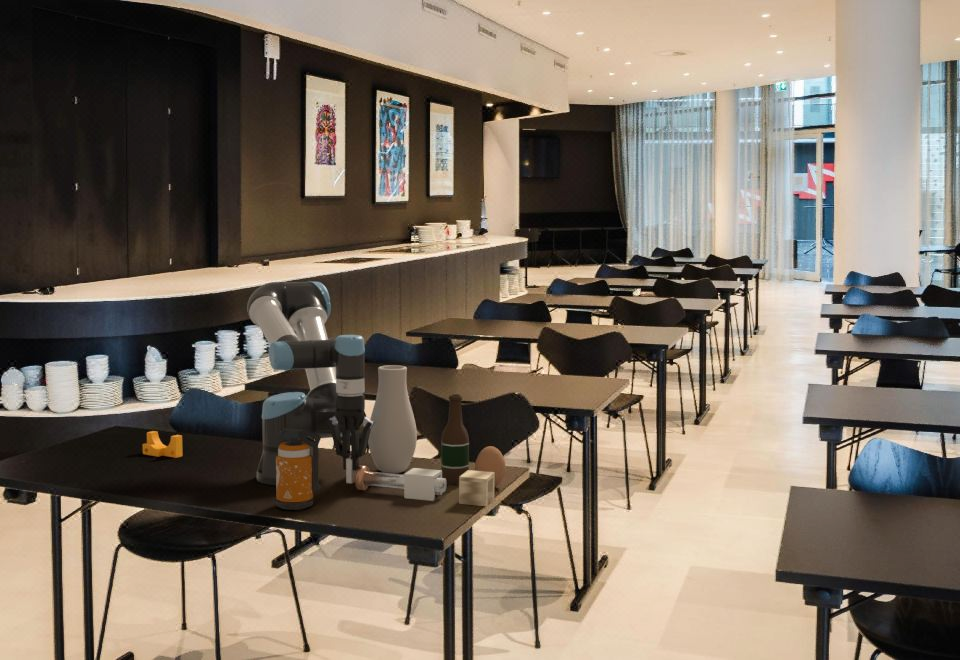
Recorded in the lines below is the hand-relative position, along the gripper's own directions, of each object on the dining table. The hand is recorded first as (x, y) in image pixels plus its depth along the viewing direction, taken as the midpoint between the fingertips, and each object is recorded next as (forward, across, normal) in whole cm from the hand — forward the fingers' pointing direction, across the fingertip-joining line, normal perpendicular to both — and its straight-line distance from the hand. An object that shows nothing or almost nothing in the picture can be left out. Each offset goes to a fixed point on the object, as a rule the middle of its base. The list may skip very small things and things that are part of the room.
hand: (351, 481), depth 275 cm
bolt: (+2, +14, +1) cm, 14 cm away
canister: (+3, -6, -19) cm, 20 cm away
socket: (+2, +34, +1) cm, 34 cm away
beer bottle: (+2, +23, +18) cm, 29 cm away
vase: (+2, +3, +21) cm, 22 cm away
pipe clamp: (+2, -69, +16) cm, 71 cm away
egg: (+3, +34, +15) cm, 37 cm away
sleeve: (+2, +20, +1) cm, 20 cm away
